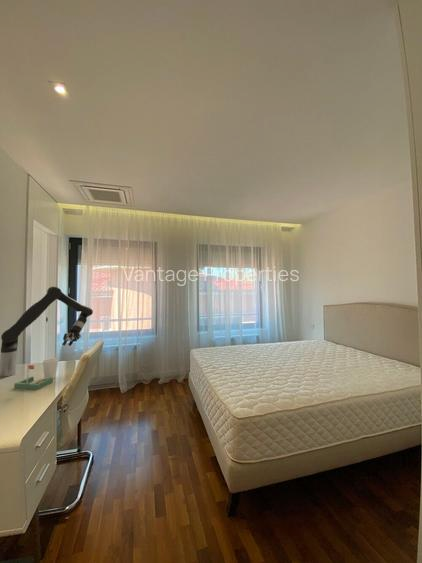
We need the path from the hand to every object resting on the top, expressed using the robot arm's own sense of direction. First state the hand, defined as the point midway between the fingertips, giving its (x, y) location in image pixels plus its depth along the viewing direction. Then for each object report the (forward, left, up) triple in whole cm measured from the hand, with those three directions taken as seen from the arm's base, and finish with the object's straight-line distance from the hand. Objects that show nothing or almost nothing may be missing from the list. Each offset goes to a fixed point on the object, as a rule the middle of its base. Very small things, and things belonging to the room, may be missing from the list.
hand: (66, 345), depth 182 cm
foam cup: (0, -15, -20) cm, 25 cm away
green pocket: (0, -28, -20) cm, 35 cm away
